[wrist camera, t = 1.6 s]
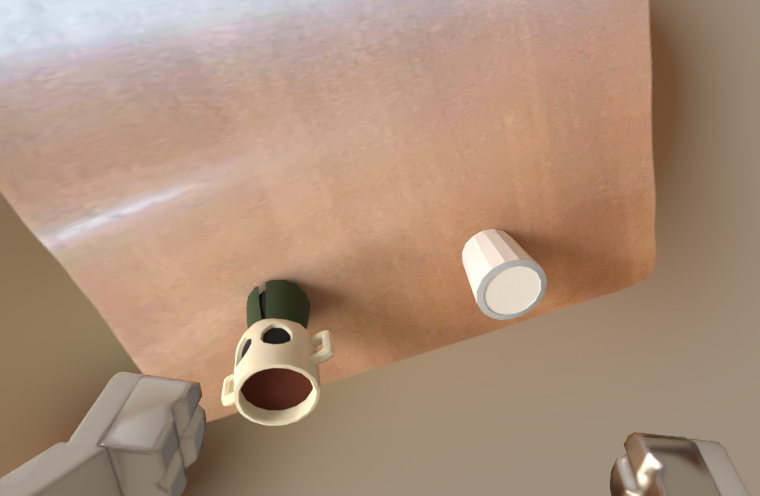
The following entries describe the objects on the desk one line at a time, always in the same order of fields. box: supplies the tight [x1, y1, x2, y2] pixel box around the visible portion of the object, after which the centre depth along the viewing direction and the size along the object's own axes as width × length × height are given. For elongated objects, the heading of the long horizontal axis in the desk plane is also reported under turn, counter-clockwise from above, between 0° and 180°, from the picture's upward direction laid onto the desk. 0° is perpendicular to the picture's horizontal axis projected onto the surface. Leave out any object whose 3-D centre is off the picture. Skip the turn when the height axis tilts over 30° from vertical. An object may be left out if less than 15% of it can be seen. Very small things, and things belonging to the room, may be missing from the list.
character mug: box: [222, 280, 334, 425], centre depth 50 cm, size 11×7×13 cm, turn 115°
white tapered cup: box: [462, 229, 547, 320], centre depth 53 cm, size 7×7×7 cm
